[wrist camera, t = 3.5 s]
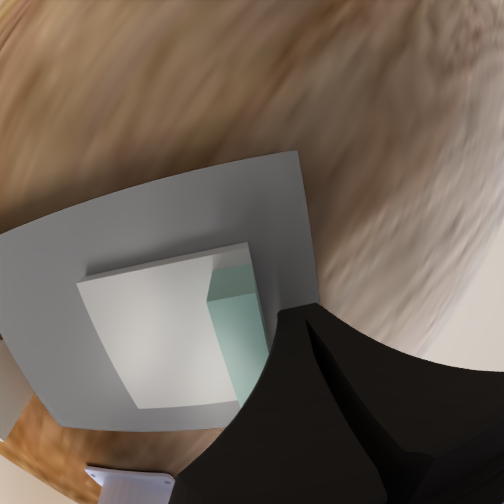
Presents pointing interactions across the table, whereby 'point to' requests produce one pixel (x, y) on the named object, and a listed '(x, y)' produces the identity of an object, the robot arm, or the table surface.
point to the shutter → (182, 327)
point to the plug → (11, 391)
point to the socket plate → (139, 252)
